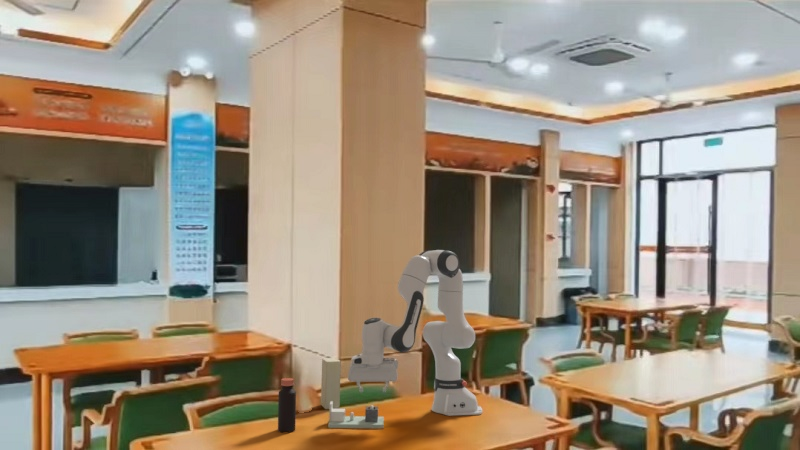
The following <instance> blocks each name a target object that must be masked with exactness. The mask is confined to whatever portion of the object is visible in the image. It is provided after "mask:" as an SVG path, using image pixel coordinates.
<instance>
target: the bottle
mask: <svg viewBox="0 0 800 450" xmlns="http://www.w3.org/2000/svg"><path fill="white" fill-rule="evenodd" d="M294 381H295V380H294V378H292V377H286V378H285V377H284V378H281V379H280V386H281V389H280V390H279V391H278V407H277V408H278V409H277V431H278V432H279V431H280V433H283V432H288V433H292V432H294V431H296V418H297V417H296V414H297V413H296V411H297V409H296V408H297V406H296V405H297V392H296V390H295V389H294V384H295V382H294Z"/></svg>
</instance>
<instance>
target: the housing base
mask: <svg viewBox="0 0 800 450" xmlns="http://www.w3.org/2000/svg"><path fill="white" fill-rule="evenodd" d="M369 407H370V409H373V407H374V405H372V404H371V405H369ZM354 414H355V413H354V412H353V411H351V412H349V415H345V419H344V422H335V421H329V420H328V427H327V428H328V429H374V430H375V429H380V430H381V429H384V423H385V416H378V422H365V416H363V415H362V416H359V415H358V416H357V415H356V416H355V415H354Z"/></svg>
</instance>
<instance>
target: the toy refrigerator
mask: <svg viewBox="0 0 800 450" xmlns="http://www.w3.org/2000/svg"><path fill="white" fill-rule="evenodd" d="M341 363H342V362H341V360H339V358H337V357H330V358H329V357H327V358H325V357H324V358H322V361H321V387H320V388H321V389H320V390H321V391H320V392H321V393H320V395H321V396H320V405H321V406H322V407H323V409H325V410H329V408H330V402H331V401H333V409H340V406H341V404H340V402H341V401H340V400H341V398H340V397H341Z"/></svg>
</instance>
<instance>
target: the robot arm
mask: <svg viewBox="0 0 800 450" xmlns="http://www.w3.org/2000/svg"><path fill="white" fill-rule="evenodd" d="M431 275H432V276H437V278H438V291H437V309H438V311H440V312H441V313H442V314H443V315H444V317H445V320H446V321H442V320H435V321H434V320H433V321H429V322H426V324H425V325H424V327H423V329H422V337H423V340H424V342H426V343H427V344H428V346H429V347H430V350H431V351H432V354H433V356H434V361H435V362H434V363H435V377H434V381H433V382H434V383H433V390H434V394H433V395H434V396H433V402H432V406H431V411H432V412H434V413H436V414H441V415H445V416H447V417H449V416H450V417H451V416H452V417H454V416H474V415H478V416H479V415H482V414H483V413H484V412H483V408H482V406H481V405H478V400H477V397H476V395H475V394H474V393H473V392H472V391H470V390H469V389H468V388H466V387H467V385H468V384H467V381H465V379H463V378H462V377H461V373H462V372H461V371H462V370H461V367H462V366H461V365H462V363H461V360H460V359H459V357H458V356H456V355H455V354H454V352H453V349H458V350H459V349H462V350H463V349H469V348H471V347H472V346H473V345H474V343H475V342H476V332H475V329H474V327H472V326H471V325H470V323H469V322H468V320H467V318H466V316H465V313H464V304H463V301H464V282H463V281H464V280H463V274H462V270H461V269H460V260H459V257H458V255H457V254H456V253H455V252H453V251H450V250H444V249H436V250H424V251H422V252H421V253H419V254H418V255H413V256H412V257H411V258H410V259H409V261H408V262H407V264H406V266H405V267H404V269H403V270H402V274H401V276H400V278H399V281H398V285H397V291H398V293H399V295H400V296H401V297H402V298H403V299H404V301H405V302H406V303H407V306H406V310H405V313H404V318H403V321H402V324H401V325H400V326H399V325H394V324H390V323H388V322H386V321H384V320H383V319H382V318H380V317H372V318H368V319H365V320H364V322H363V324H362V329H361V341H362V349H361V353H359V354H356V355H353V356H352V357H351V359H350V362H351V363H350V365H349V368H348V374H347V380H348V381H349V382H353V383H354V382H356V386H357V388H358V389H359V393H364V387H362V386H361V382H367V383H368V382H372V383H373V382H384V383H385V386H384V387H382V393H387V388H388V386H389V385H390V383H389V382H396V381H398V370H397V369H398V368H399V361H398V360H397V359H395V358H393V357H392V358H389V357H384V355H385V353H384V348H386V349H391V350H394V351H397V352H399V353H403V354H405V353H407V352H410V350H412V348H413V346H414V345H415V341H416V334H417V328H418V325H419V321H420V318H421V314H422V310H423V306H424V300H425V299H424V290H425V286H426V284H427V282H428V278H429V277H430V276H431ZM452 348H453V349H452Z"/></svg>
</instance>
